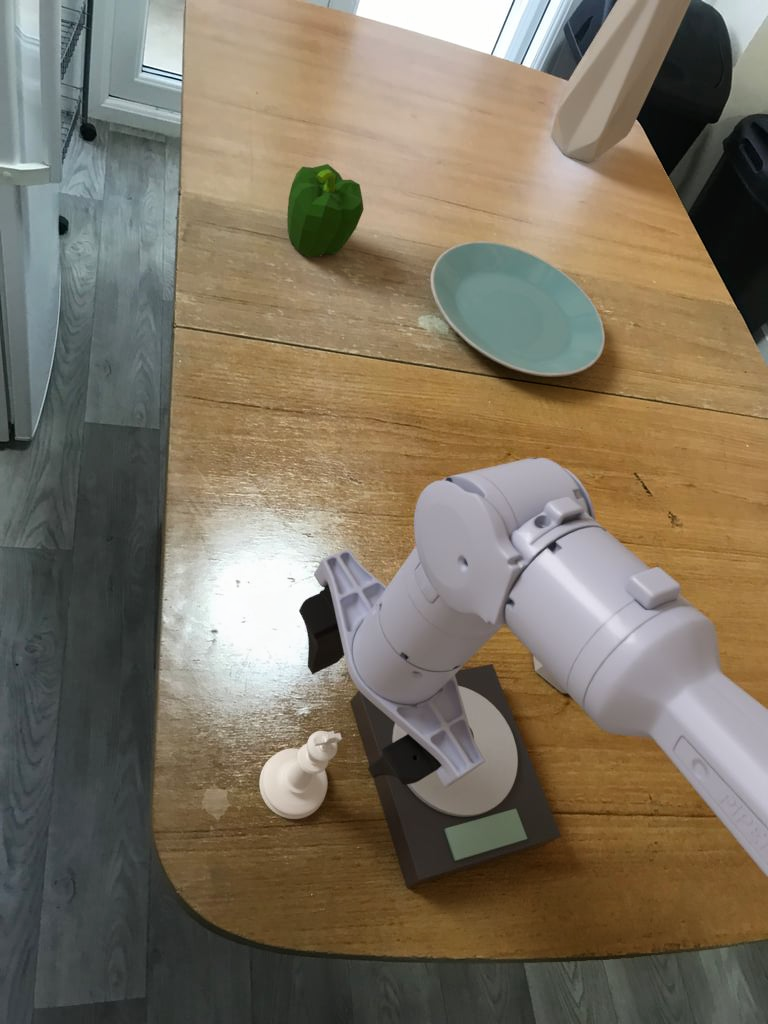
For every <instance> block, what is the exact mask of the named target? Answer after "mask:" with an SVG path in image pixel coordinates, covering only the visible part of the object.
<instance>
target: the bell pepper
mask: <svg viewBox="0 0 768 1024" xmlns="http://www.w3.org/2000/svg"><path fill="white" fill-rule="evenodd" d="M363 212H364V201H363V194H362V189H361V185H360V183H358V182H356V181H354V180H352V179H343V178H342V176H341V174H340V173H339V172H338V171H337V170H336V169H334V168H333V167H332V166H331V165H330V164H328V163H325V164H323V165H318V166H314V167H309V166H301V168H300V169H299V170H298V171H297V172H296V174H295V175H294V178H293V181H292V183H291V187H290V191H289V195H288V205H287V217H286V222H287V225H286V226H287V234H288V238H289V241H290V244H291V246H292V247H293V248H294V249H295V250H296V251H297V252H299V253H300V254H302V255H304V256H306V257H308V258H320V257H321V256H323V255H328V256H331V255H335V254H337V253H339V252H340V251H341V250H342V249H343V247H344V246H345V245H346V244H347V242H348V241H349V240H350V238H351V237H352V235H353V234H354V232H355V230H356V229H357V226H358V225H359V223H360V220H361V218H362V215H363Z"/></svg>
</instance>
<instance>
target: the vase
mask: <svg viewBox="0 0 768 1024" xmlns="http://www.w3.org/2000/svg"><path fill="white" fill-rule="evenodd" d="M691 2H692V0H616V2H615V3H614V5H613V6H612V9H611V10H610V12H609V13H608V15H607V17H606V18H605V20H604V21H603V23H602V25H601V26H600V28H599V29H598V31H597V32H596V34H595V36H594V38H593V40H592V41H591V43H590V45H589V46H588V48H587V50H586V51H585V53H584V54H583V56H582V58H581V59H580V61H579V62H578V64H577V65H576V67H575V69H574V70H573V73H572V74H571V76H570V77H569V79H568V81H567V82H566V84H565V86H564V88H563V90H562V92H561V96H560V99H559V102H558V107H557V110H556V112H555V118H554V121H553V126H552V130H551V133H550V138H551V139H552V140H553V142H554V144H555V145H556V146H557V148H558V150H560V152H561V153H562V154H563V155H564V156H565V157H569V158H573V159H575V160H578V161H582V162H585V163H589V164H590V163H593V162H595V161H596V160H598V159H599V158H600V157H601V156H603V155H604V154H606V152H607V153H608V151H609V150H611V149H612V148H614V147H615V146H616V145H617V144H618V143H620V142H621V141H623V140H624V139H626V138H627V136H628V135H629V134H630V133H631V131H632V129H633V126H634V125H635V124H636V123H635V122H636V120H637V119H638V116H639V114H640V112H641V109H642V108H643V106H644V104H645V101H646V99H647V97H648V95H649V93H650V91H651V88H652V86H653V84H654V81H655V79H656V78H657V76H658V74H659V71H660V69H661V67H662V65H663V62H664V61H665V58H666V56H667V54H668V52H669V49H670V47H671V46H672V44H673V41H674V39H675V37H676V34H677V32H678V30H679V28H680V26H681V24H682V21H683V19H684V17H685V15H686V13H687V10H688V9H689V7H690V4H691Z"/></svg>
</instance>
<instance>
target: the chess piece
mask: <svg viewBox="0 0 768 1024" xmlns="http://www.w3.org/2000/svg"><path fill="white" fill-rule="evenodd" d="M342 740H343V739H342V735H341V732H336V733H335V730H329V731H326V730H318V731H317V730H316V731H315V732H313V733H312V734H311V735H310V736H309V737H308V739H307V742H306V743H305V744H302V746H301V747H300V748H295V747H291V748H286V749H283V750H280V751H278V752H276V753H275V754H273V755H272V756H271V757H270V758H269V759H268V760H266V762H265V764H264V765H263V767H262V769H261V772H260V775H259V780H258V781H259V782H258V783H259V791H260V795H261V798H262V800H263V802H264V803H265V805H266V806H267V807H268V809H269V810H271V811H272V812H273V813H274V814H276V815H278V816H280V817H282V818H285V819H289V820H299V819H305V818H307V817H309V816H311V815H312V814H314V813H315V812H316V811H317V810H318V809H319V808H320V807H321V805H322V804H323V802H324V800H325V798H326V795H327V791H328V786H329V785H328V782H329V781H328V775H327V771H326V769H327V767H328V764H329V761H331V760H332V759H334V757H335V756H336V754H337V752H338V743H340V742H341V741H342Z"/></svg>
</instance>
